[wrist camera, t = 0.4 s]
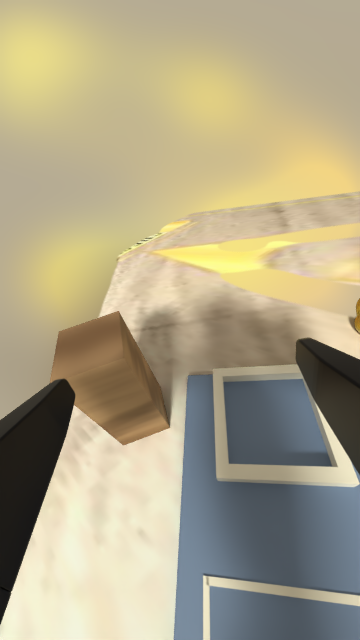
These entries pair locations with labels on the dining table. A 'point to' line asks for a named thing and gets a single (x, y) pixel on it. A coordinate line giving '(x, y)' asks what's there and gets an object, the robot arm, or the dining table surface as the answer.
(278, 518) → the blueprint board
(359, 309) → the bread roll
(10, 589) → the robot arm
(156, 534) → the dining table surface
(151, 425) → the walnut column
